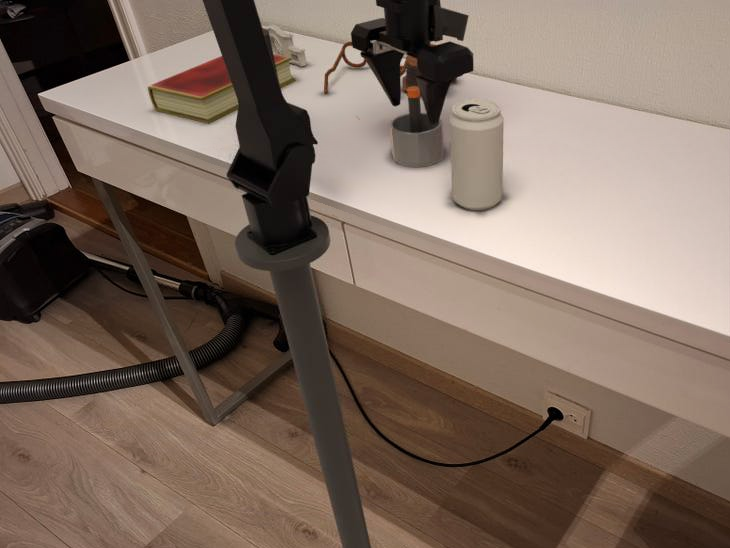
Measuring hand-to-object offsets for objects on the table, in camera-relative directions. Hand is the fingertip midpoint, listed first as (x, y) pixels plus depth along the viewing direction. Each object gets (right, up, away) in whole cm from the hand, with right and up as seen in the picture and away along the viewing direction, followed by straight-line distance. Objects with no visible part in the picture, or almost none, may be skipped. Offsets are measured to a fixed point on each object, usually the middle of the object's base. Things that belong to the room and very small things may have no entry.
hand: (415, 114), depth 92 cm
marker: (0, -4, +4) cm, 6 cm away
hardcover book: (-34, +11, +23) cm, 43 cm away
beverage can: (+9, -13, -6) cm, 17 cm away
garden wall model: (-28, +23, +36) cm, 51 cm away
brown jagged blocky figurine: (+1, +13, +24) cm, 27 cm away
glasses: (-10, +15, +26) cm, 32 cm away
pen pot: (0, -5, +4) cm, 6 cm away
